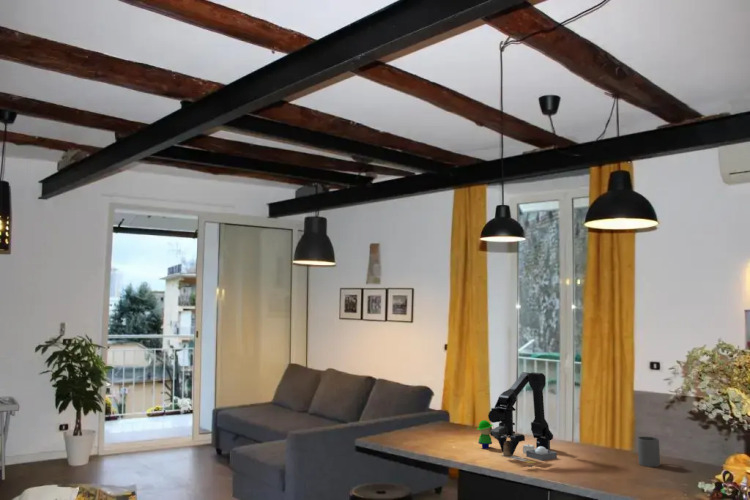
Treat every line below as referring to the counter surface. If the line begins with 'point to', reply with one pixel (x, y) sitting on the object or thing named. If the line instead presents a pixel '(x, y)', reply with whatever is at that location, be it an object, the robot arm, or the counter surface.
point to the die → (527, 448)
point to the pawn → (506, 449)
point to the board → (521, 460)
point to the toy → (485, 434)
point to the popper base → (541, 455)
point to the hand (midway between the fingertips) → (507, 453)
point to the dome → (541, 450)
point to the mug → (648, 451)
